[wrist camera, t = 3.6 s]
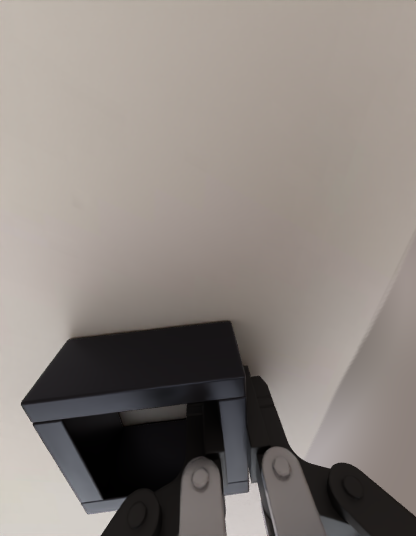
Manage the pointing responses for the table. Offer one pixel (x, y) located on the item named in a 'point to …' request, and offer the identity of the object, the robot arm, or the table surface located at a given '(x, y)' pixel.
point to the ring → (137, 408)
